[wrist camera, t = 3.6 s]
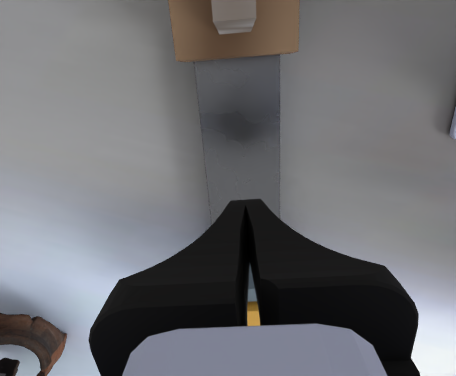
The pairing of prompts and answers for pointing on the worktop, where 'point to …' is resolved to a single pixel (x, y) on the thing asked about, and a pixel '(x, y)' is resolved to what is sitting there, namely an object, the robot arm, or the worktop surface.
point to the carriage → (233, 28)
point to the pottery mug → (31, 341)
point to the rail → (240, 129)
